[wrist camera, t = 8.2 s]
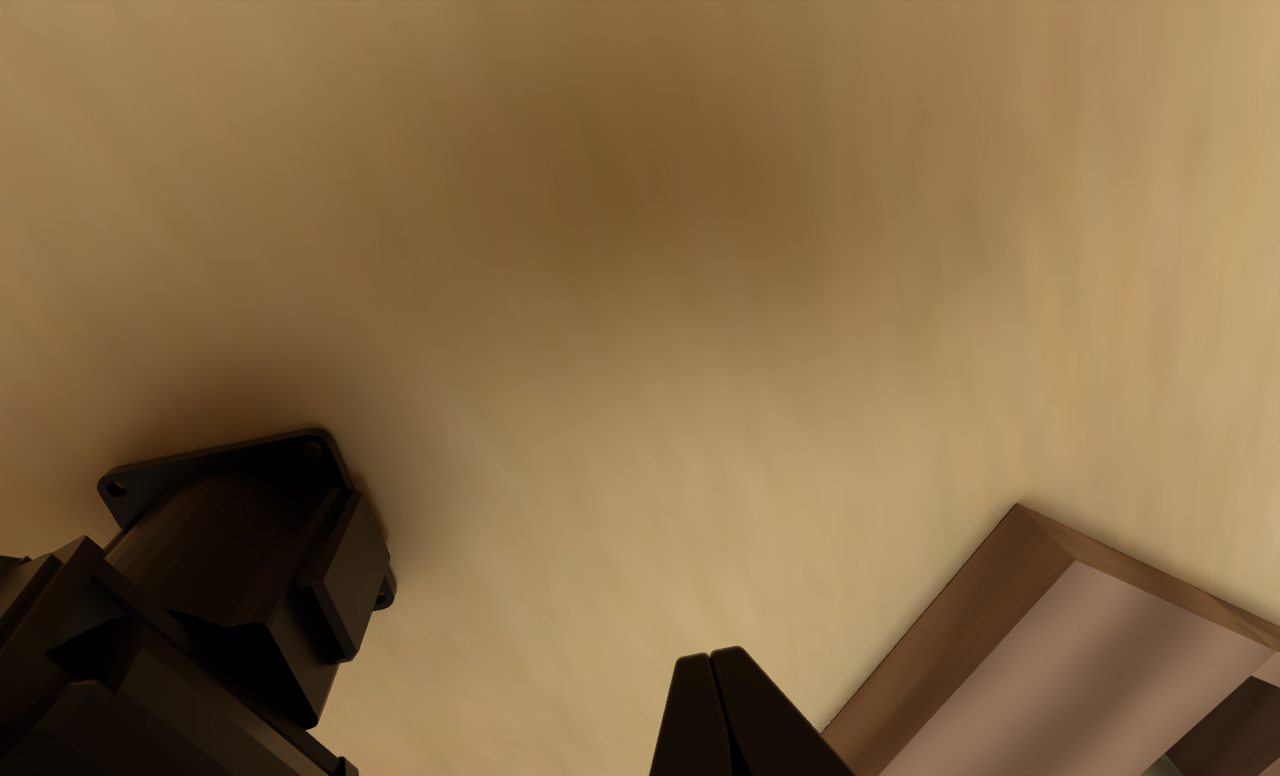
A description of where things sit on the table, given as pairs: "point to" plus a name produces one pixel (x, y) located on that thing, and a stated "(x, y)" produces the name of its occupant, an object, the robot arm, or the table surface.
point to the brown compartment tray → (1068, 672)
